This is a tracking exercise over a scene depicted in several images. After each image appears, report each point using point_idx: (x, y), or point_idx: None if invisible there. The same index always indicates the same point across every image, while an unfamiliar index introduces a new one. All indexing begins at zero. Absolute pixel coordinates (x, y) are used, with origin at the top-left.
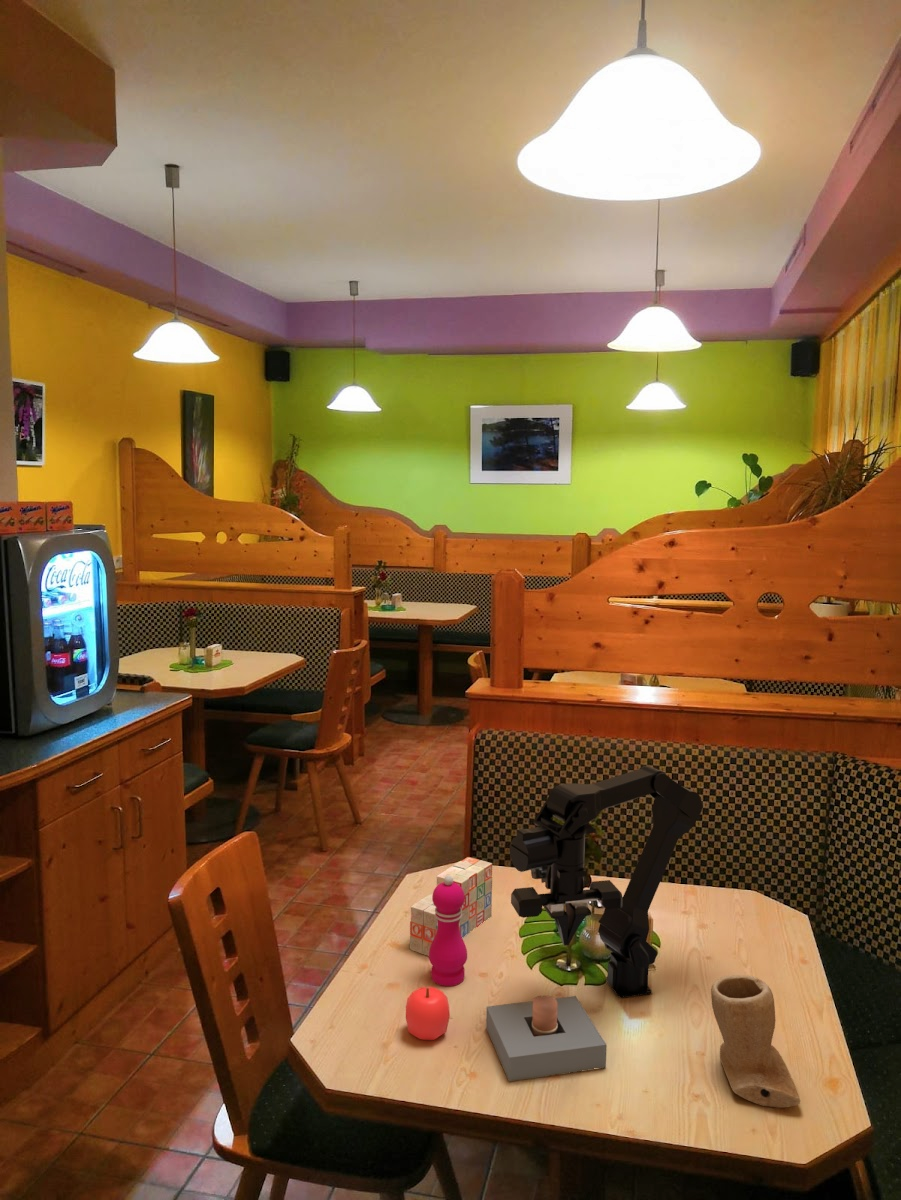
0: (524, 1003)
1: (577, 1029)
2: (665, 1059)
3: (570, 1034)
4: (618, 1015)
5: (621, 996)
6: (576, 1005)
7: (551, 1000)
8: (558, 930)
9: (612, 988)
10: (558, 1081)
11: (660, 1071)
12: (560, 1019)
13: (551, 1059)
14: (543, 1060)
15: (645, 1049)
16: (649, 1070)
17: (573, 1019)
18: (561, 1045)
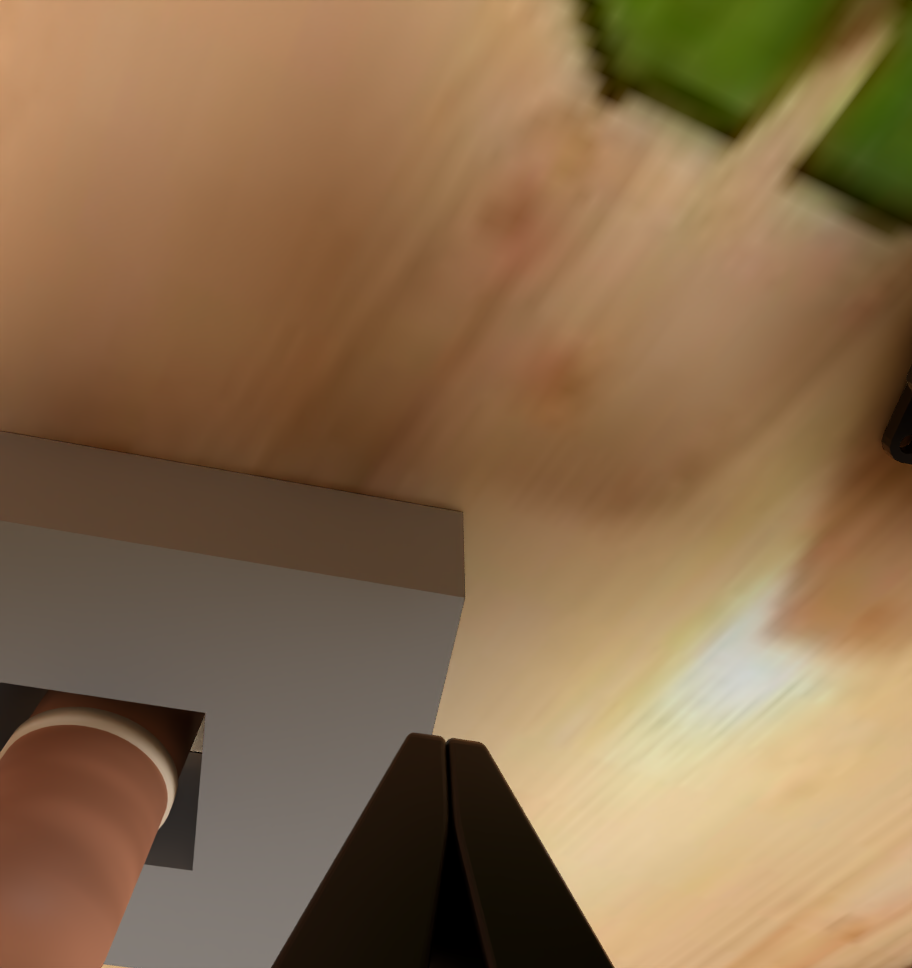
0: (19, 541)
1: (277, 869)
2: (674, 912)
3: (213, 890)
4: (728, 589)
5: (896, 459)
6: (402, 692)
7: (68, 928)
8: (325, 877)
9: (907, 382)
10: None
11: None
12: (217, 770)
13: None
14: None
15: (643, 842)
16: None
17: (301, 796)
18: (121, 935)
